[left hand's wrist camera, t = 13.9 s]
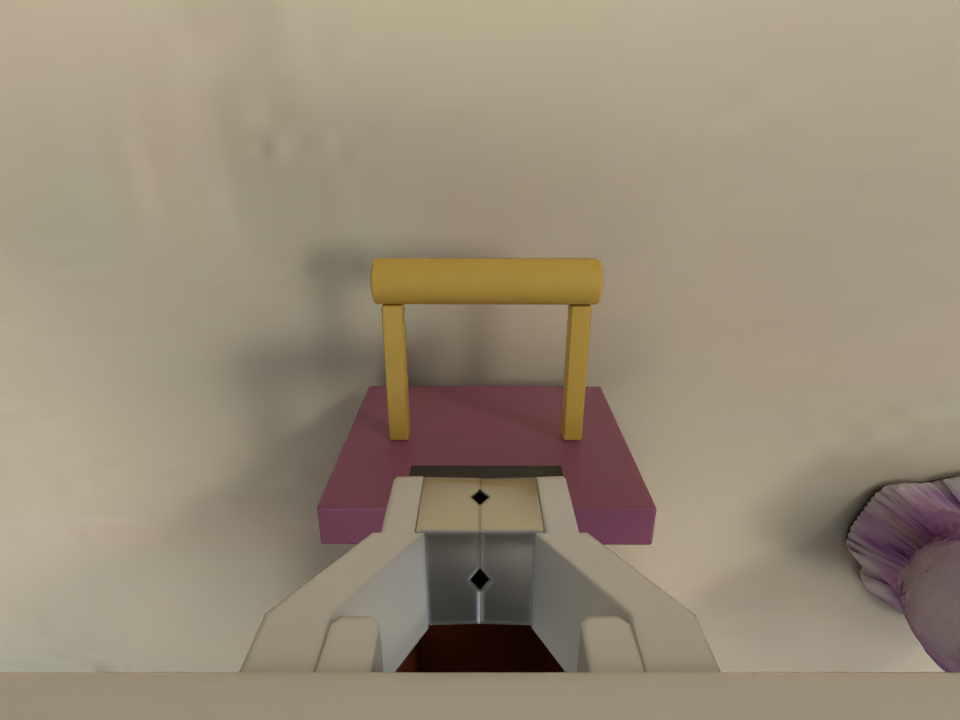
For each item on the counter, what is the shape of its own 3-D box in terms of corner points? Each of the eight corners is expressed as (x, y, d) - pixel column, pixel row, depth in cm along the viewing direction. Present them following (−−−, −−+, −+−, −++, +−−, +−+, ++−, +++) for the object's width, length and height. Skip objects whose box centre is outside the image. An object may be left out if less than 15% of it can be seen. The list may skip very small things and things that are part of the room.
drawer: (358, 234, 20) (290, 292, 13) (613, 235, 20) (686, 294, 13) (390, 679, 28) (359, 869, 21) (575, 679, 28) (608, 870, 21)
